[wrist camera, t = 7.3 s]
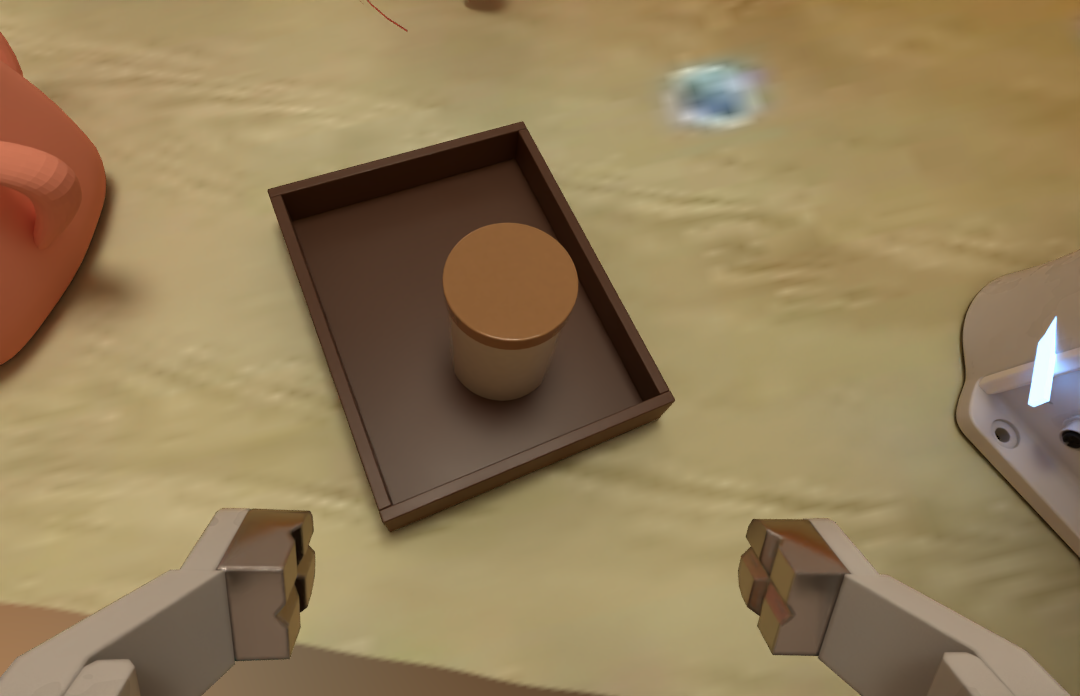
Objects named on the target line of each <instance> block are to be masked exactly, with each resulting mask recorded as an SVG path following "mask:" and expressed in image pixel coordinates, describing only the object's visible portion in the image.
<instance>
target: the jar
mask: <svg viewBox="0 0 1080 696" xmlns="http://www.w3.org/2000/svg"><path fill="white" fill-rule="evenodd" d="M442 282H443V297H444V302H445V305H446V308H447V311H448V330H449V349H450V361H451V365H452V368H453V370H454V372H455V374H456V376H457V378H458V379H459V380H460V382H461V383H462V384H463V385H464V386H465V387H466V388H468V389H469V390H470V391H472V392H473V393H475V394H477V395H479V396H481V397H484V398H487V399H491V400H499V401H505V400H513V399H517V398H520V397H523V396H525V395H527V394H529V393H531V392H532V391H534V390H535V389H536V388H537V387H539V385H540V384H541V383H542V382H543V381H544V379H545V378H546V376H547V374H548V372H549V370H550V367H551V364H552V361H553V358H554V355H555V352H556V349H557V346H558V343H559V340H560V337H561V334H562V331H563V327H564V326H565V324H566V323H567V321H568V320H569V318H570V316H571V314H572V311H573V308H574V305H575V302H576V299H577V295H578V275H577V271H576V268H575V265H574V263H573V261H572V259H571V257H570V255H569V254H568V252H567V251H566V250H565V248H564V247H563V246H562V245H561V244H560V243H559V242H558V241H557V240H556V239H554V238H553V237H552V236H550V235H549V234H547V233H545V232H543V231H541V230H539V229H537V228H534V227H531V226H528V225H524V224H519V223H497V224H491V225H487V226H484V227H481V228H479V229H476V230H475V231H473V232H471V233H469V234H468V235H466V236H465V237H464V238H462V239H461V240H460V241H459V242H458V243H457V244H456V245H455V247H454V248H453V249H452V251H451V252H450V254H449V255H448V258H447V260H446V262H445V265H444V269H443V277H442Z"/></svg>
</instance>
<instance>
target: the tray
mask: <svg viewBox="0 0 1080 696" xmlns="http://www.w3.org/2000/svg"><path fill="white" fill-rule="evenodd" d="M268 194H269V197H270V199H271V202H272V205H273V208H274V211H275V214H276V217H277V220H278V222H279V225H280V228H281V231H282V234H283V237H284V240H285V243H286V245H287V248H288V251H289V254H290V257H291V260H292V263H293V266H294V269H295V271H296V274H297V277H298V280H299V283H300V286H301V289H302V292H303V294H304V297H305V300H306V303H307V306H308V309H309V312H310V315H311V317H312V320H313V323H314V326H315V329H316V332H317V335H318V338H319V340H320V343H321V346H322V349H323V352H324V355H325V358H326V361H327V363H328V366H329V369H330V372H331V375H332V378H333V381H334V384H335V386H336V389H337V392H338V395H339V398H340V401H341V404H342V407H343V409H344V412H345V415H346V418H347V421H348V424H349V427H350V430H351V433H352V435H353V438H354V441H355V444H356V447H357V450H358V453H359V456H360V458H361V461H362V464H363V467H364V470H365V473H366V476H367V479H368V481H369V484H370V487H371V490H372V493H373V496H374V499H375V502H376V504H377V507H378V510H379V513H380V516H381V519H382V522H383V523H384V525H385V526H386V527H387V529H388V530H389V531H390V532H393V531H395V530H397V529H400V528H402V527H404V526H407V525H409V524H412V523H414V522H416V521H419V520H421V519H423V518H426V517H428V516H430V515H433V514H435V513H437V512H440V511H442V510H444V509H447V508H449V507H452V506H454V505H456V504H459V503H461V502H463V501H466V500H468V499H470V498H473V497H475V496H477V495H480V494H482V493H485V492H487V491H489V490H492V489H494V488H496V487H499V486H501V485H503V484H506V483H508V482H510V481H513V480H515V479H517V478H520V477H522V476H525V475H527V474H529V473H532V472H534V471H536V470H539V469H541V468H543V467H546V466H548V465H550V464H553V463H555V462H558V461H560V460H562V459H565V458H567V457H569V456H572V455H574V454H576V453H579V452H581V451H583V450H586V449H588V448H590V447H593V446H595V445H598V444H600V443H602V442H605V441H607V440H609V439H612V438H614V437H616V436H619V435H621V434H623V433H626V432H628V431H631V430H633V429H635V428H638V427H640V426H642V425H645V424H647V423H649V422H652V421H654V420H656V419H659V418H660V417H661V415H662V414H663V413H664V412H665V411H666V410H667V409H668V408H669V407H670V406H671V405H672V403H673V402H674V401H675V399H674V397H673V395H672V393H671V392H670V391H669V388H668V386H667V384H666V382H665V381H664V379H663V377H662V375H661V373H660V371H659V370H658V368H657V366H656V364H655V362H654V360H653V359H652V357H651V355H650V353H649V351H648V349H647V348H646V346H645V344H644V342H643V340H642V338H641V337H640V335H639V333H638V331H637V329H636V327H635V326H634V324H633V322H632V320H631V318H630V316H629V315H628V313H627V311H626V309H625V307H624V305H623V304H622V302H621V300H620V298H619V296H618V294H617V293H616V291H615V289H614V287H613V285H612V283H611V282H610V280H609V278H608V276H607V274H606V272H605V271H604V269H603V267H602V265H601V263H600V261H599V260H598V258H597V256H596V254H595V252H594V250H593V249H592V247H591V245H590V243H589V241H588V239H587V238H586V236H585V234H584V232H583V230H582V228H581V227H580V225H579V223H578V221H577V219H576V217H575V216H574V214H573V212H572V210H571V208H570V206H569V205H568V203H567V201H566V199H565V197H564V195H563V194H562V192H561V190H560V188H559V186H558V184H557V183H556V181H555V179H554V177H553V175H552V173H551V172H550V170H549V168H548V166H547V164H546V162H545V161H544V159H543V157H542V155H541V153H540V151H539V150H538V148H537V146H536V144H535V142H534V140H533V139H532V137H531V135H530V133H529V131H528V129H527V128H526V126H525V124H524V122H518V123H515V124H511V125H507V126H503V127H500V128H496V129H492V130H488V131H485V132H481V133H477V134H473V135H470V136H466V137H462V138H458V139H455V140H451V141H447V142H443V143H440V144H436V145H432V146H428V147H425V148H421V149H417V150H413V151H410V152H406V153H402V154H398V155H395V156H391V157H387V158H383V159H380V160H376V161H372V162H369V163H365V164H361V165H357V166H354V167H350V168H346V169H342V170H339V171H335V172H331V173H327V174H324V175H320V176H316V177H312V178H309V179H305V180H301V181H297V182H294V183H290V184H286V185H282V186H279V187H275V188H271V189H268ZM497 223H519V224H524V225H528V226H531V227H534V228H537V229H539V230H541V231H543V232H545V233H547V234H549V235H550V236H552V237H553V238H554V239H556V240H557V241H558V242H559V243H560V244H561V245H562V246H563V247H564V248H565V250H566V251H567V252H568V254H569V255H570V257H571V259H572V261H573V263H574V265H575V268H576V271H577V275H578V295H577V299H576V302H575V305H574V308H573V311H572V314H571V316H570V318H569V320H568V321H567V323H566V324H565V326H564V327H563V331H562V334H561V337H560V340H559V343H558V346H557V349H556V352H555V355H554V358H553V361H552V364H551V367H550V370H549V372H548V374H547V376H546V378H545V379H544V381H543V382H542V383H541V384H540V385H539V387H537V388H536V389H535V390H534V391H532V392H531V393H529V394H527V395H525V396H523V397H520V398H517V399H513V400H505V401H499V400H491V399H487V398H484V397H481V396H479V395H477V394H475V393H473V392H472V391H470V390H469V389H468V388H466V387H465V386H464V385H463V384H462V383H461V382H460V380H459V379H458V378H457V376H456V374H455V372H454V370H453V368H452V365H451V361H450V349H449V330H448V311H447V308H446V305H445V302H444V297H443V282H442V277H443V269H444V265H445V262H446V260H447V258H448V255H449V254H450V252H451V251H452V249H453V248H454V247H455V245H456V244H457V243H458V242H459V241H460V240H461V239H462V238H464V237H465V236H466V235H468V234H469V233H471V232H473V231H475V230H476V229H479V228H481V227H484V226H487V225H491V224H497Z"/></svg>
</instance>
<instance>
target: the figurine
mask: <svg viewBox="0 0 1080 696" xmlns="http://www.w3.org/2000/svg"><path fill="white" fill-rule="evenodd" d="M367 1H368V2H369V0H367ZM369 3H370V2H369ZM362 4H363V3H362ZM370 4H371V3H370ZM363 5H364V4H363ZM371 5H372V4H371ZM372 6H373V5H372ZM373 7H374V8H375V9H376V10H377V11H379V10H378V9H377V8H376V7H375V6H373ZM379 12H380V11H379ZM380 13H381V14H382V15H383V16H384V17H385V18H387V17H386V16H385V15H384V14H383V13H382V12H380ZM387 19H388V20H389V21H391V22H393V23H394V24H396V25H397V26H399V27H400V28H402V29H404V30H405V31H407V30H406V29H405V28H403V27H402V26H400V25H398V24H397V23H395V22H394V21H392V20H391V19H389V18H387Z"/></svg>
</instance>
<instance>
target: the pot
mask: <svg viewBox="0 0 1080 696" xmlns="http://www.w3.org/2000/svg"><path fill="white" fill-rule="evenodd" d="M105 194H106V176H105V171H104V166H103V162H102V160H101V157H100V155H99V153H98V151H97V149H96V147H95V146H94V144H93V143H92V142H91V141H90V139H89V138H88V137H87V136H86V135H85V134H84V133H83V131H82V130H81V129H80V128H79V127H78V126H77V125H76V124H75V123H74V122H73V121H72V120H71V119H70V118H69V117H68V116H67V115H66V114H65V113H64V112H63V111H62V110H61V109H60V108H59V107H58V106H57V105H56V104H55V103H54V102H53V101H52V100H51V99H49V98H48V97H47V96H46V95H45V94H44V93H43V92H42V91H40V90H39V89H38V88H37V87H35V86H34V85H33V84H32V83H30V82H29V81H28V80H26V79H25V78H24V77H23V73H22V70H21V68H20V65H19V63H18V60H17V58H16V56H15V54H14V52H13V51H12V49H11V47H10V45H9V44H8V42H7V40H6V39H5V37H4V36H3V35H2V33H1V32H0V365H1V364H3V363H5V362H6V361H8V360H9V359H11V358H12V357H13V356H15V355H16V354H17V353H18V352H19V351H20V350H21V349H22V348H23V347H24V346H25V345H26V343H27V342H28V341H29V340H30V339H31V337H32V336H33V335H34V334H35V333H36V331H37V330H38V329H39V327H40V326H41V324H42V323H43V322H44V320H45V319H46V318H47V316H48V315H49V314H50V312H51V311H52V309H53V308H54V306H55V305H56V304H57V302H58V301H59V299H60V298H61V296H62V295H63V293H64V292H65V290H66V289H67V287H68V286H69V284H70V283H71V281H72V279H73V277H74V276H75V274H76V272H77V270H78V268H79V266H80V264H81V262H82V260H83V258H84V256H85V254H86V252H87V249H88V247H89V244H90V242H91V239H92V237H93V234H94V231H95V229H96V226H97V223H98V220H99V217H100V214H101V211H102V208H103V203H104V199H105Z"/></svg>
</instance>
